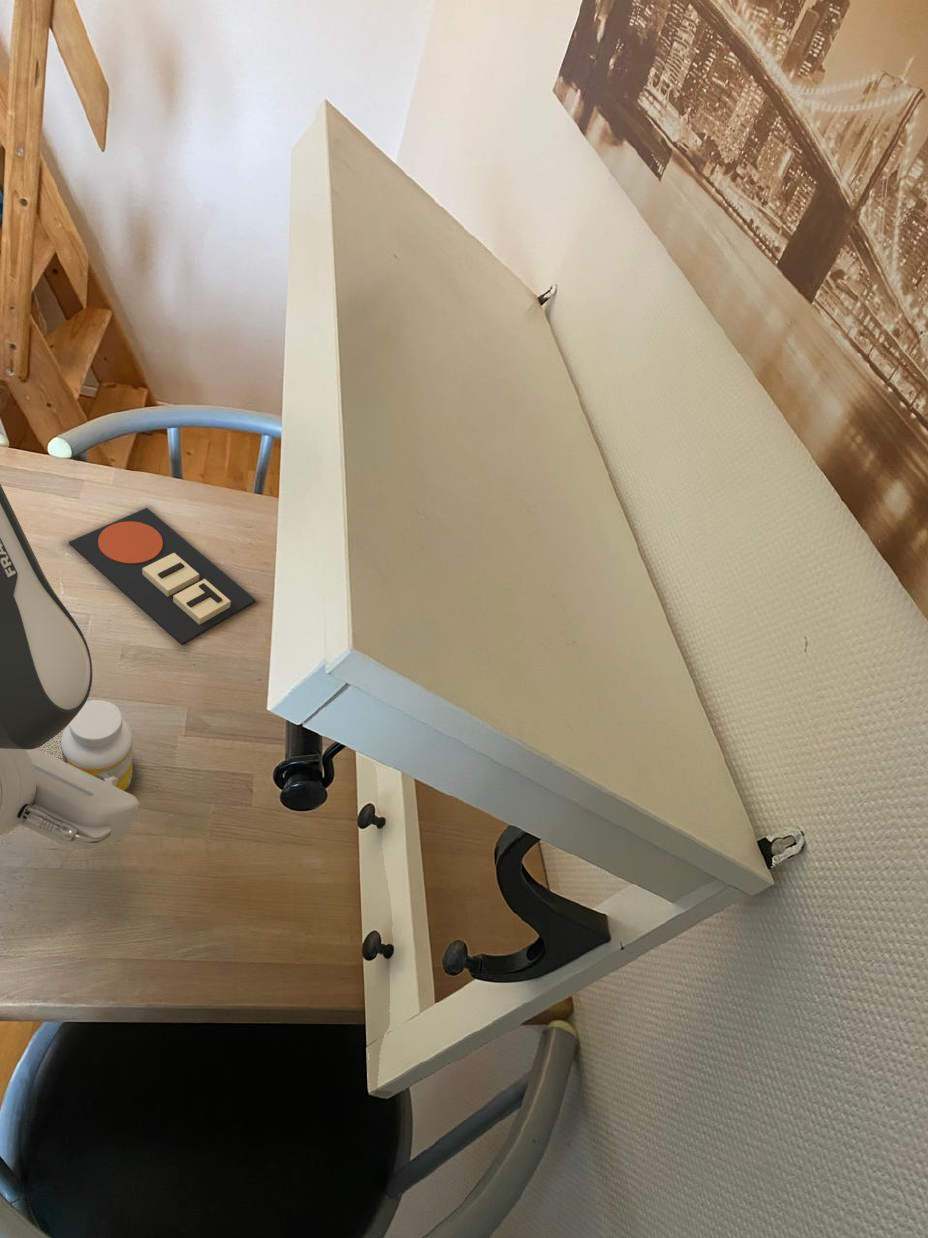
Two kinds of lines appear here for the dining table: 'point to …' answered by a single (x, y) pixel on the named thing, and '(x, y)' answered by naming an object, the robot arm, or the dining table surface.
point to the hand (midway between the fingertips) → (64, 761)
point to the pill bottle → (99, 742)
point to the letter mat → (163, 574)
